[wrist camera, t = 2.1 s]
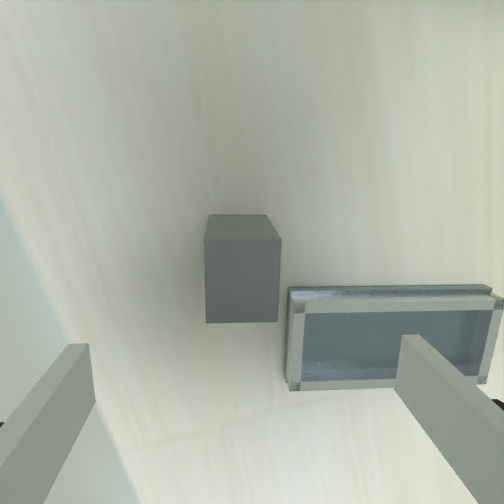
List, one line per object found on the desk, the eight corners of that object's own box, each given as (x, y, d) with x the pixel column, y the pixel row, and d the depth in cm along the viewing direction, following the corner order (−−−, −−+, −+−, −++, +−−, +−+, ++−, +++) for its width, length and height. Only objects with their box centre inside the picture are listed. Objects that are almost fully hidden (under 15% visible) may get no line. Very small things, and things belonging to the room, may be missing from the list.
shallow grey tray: (289, 287, 34) (294, 299, 31) (484, 284, 35) (506, 295, 32) (284, 376, 36) (289, 394, 34) (466, 370, 38) (484, 387, 35)
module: (209, 214, 31) (204, 238, 22) (265, 215, 31) (281, 239, 23) (210, 279, 33) (206, 324, 24) (263, 278, 33) (277, 323, 24)
